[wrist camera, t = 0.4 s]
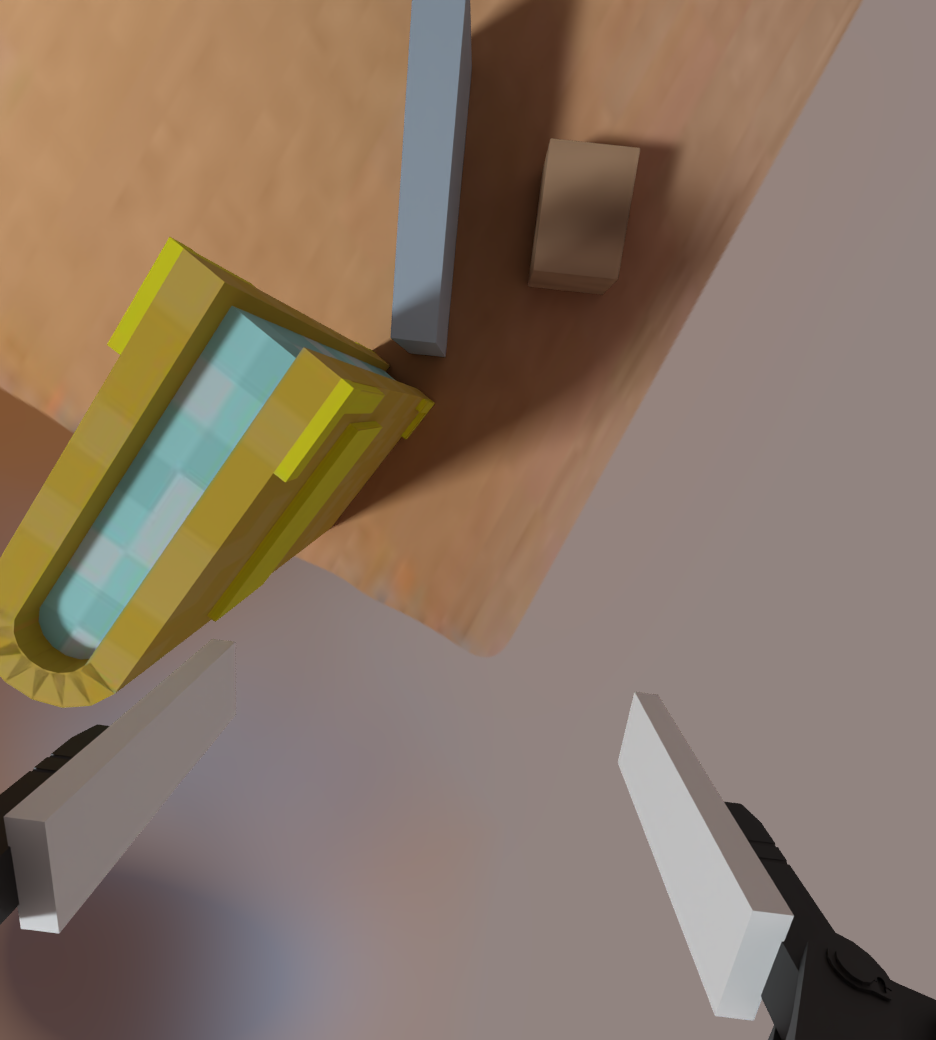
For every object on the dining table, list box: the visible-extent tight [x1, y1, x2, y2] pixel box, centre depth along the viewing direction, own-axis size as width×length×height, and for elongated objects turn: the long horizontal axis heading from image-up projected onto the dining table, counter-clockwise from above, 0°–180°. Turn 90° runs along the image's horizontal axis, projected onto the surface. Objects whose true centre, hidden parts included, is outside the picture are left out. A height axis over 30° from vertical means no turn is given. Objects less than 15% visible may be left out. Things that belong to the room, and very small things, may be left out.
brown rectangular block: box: [528, 138, 640, 295], centre depth 33 cm, size 8×6×4 cm
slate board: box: [391, 0, 472, 357], centre depth 31 cm, size 20×3×8 cm, turn 174°
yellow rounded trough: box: [0, 237, 435, 708], centre depth 28 cm, size 17×7×25 cm, turn 141°
